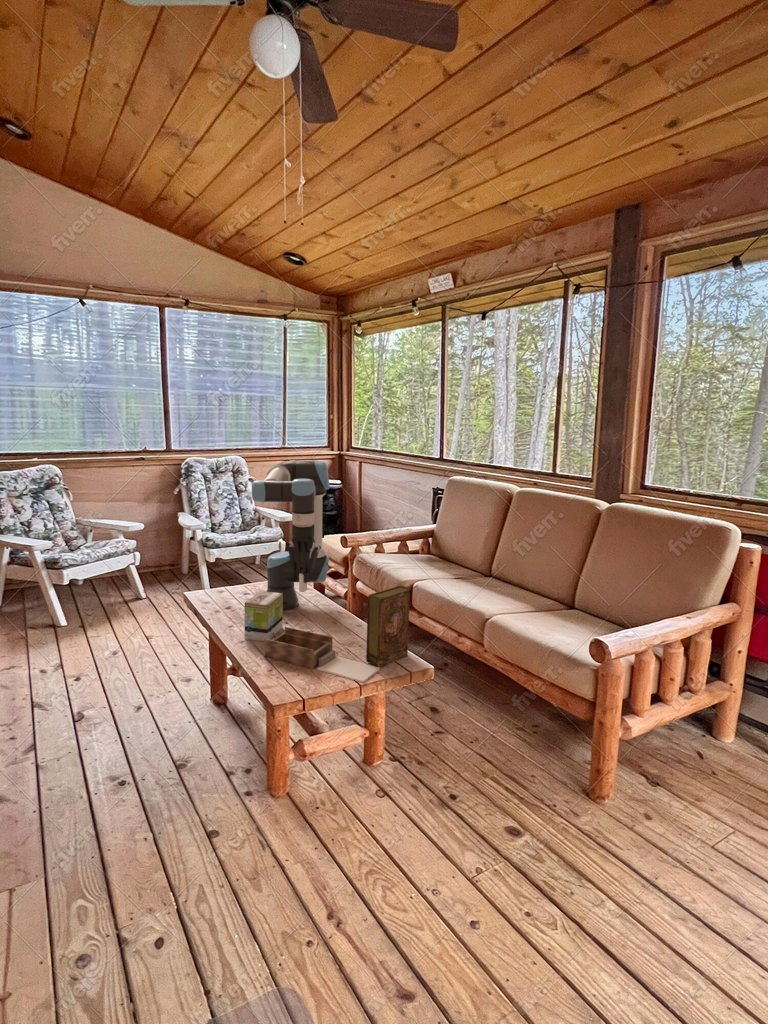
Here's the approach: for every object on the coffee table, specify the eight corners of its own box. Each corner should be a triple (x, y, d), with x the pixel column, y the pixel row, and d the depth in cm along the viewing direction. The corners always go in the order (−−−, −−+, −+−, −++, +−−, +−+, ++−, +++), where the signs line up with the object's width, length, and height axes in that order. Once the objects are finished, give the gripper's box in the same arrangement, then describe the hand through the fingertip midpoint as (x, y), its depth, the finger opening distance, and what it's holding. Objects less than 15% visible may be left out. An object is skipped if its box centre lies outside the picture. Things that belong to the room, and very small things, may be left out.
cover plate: (316, 670, 198) (316, 660, 197) (334, 658, 208) (334, 648, 207) (363, 684, 189) (363, 673, 189) (380, 671, 199) (380, 660, 198)
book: (398, 650, 215) (400, 585, 210) (409, 655, 211) (412, 588, 206) (366, 663, 203) (367, 595, 199) (377, 669, 199) (379, 599, 195)
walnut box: (264, 657, 206) (264, 639, 205) (285, 643, 218) (285, 626, 217) (313, 669, 198) (313, 650, 197) (332, 654, 210) (332, 636, 208)
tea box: (268, 642, 219) (268, 604, 216) (243, 639, 221) (243, 602, 218) (283, 627, 233) (283, 592, 231) (259, 625, 235) (259, 590, 233)
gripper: (280, 524, 198) (281, 591, 202) (313, 528, 193) (313, 597, 197) (293, 520, 205) (293, 585, 209) (325, 524, 199) (324, 590, 204)
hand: (303, 590), depth 203 cm, fingers closed
